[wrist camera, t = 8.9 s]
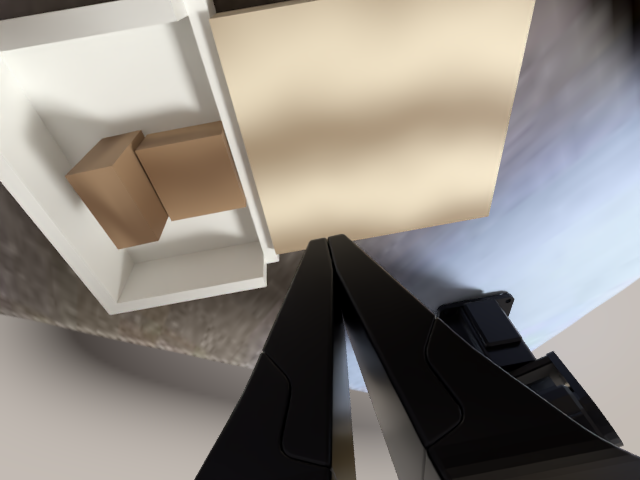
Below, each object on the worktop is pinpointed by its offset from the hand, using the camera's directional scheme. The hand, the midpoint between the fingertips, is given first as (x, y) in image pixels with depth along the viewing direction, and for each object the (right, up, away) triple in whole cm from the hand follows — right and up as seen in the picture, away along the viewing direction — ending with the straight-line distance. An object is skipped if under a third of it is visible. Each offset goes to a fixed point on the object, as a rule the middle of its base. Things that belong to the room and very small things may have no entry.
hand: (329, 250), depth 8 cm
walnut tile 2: (-7, +4, +10) cm, 13 cm away
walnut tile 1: (-8, +3, +8) cm, 12 cm away
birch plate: (+2, +7, +10) cm, 13 cm away
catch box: (-9, +5, +10) cm, 14 cm away
